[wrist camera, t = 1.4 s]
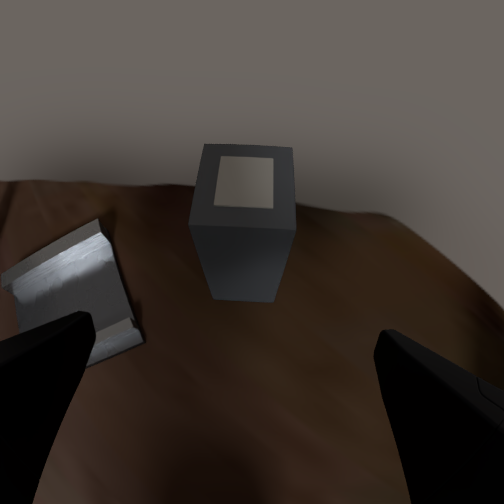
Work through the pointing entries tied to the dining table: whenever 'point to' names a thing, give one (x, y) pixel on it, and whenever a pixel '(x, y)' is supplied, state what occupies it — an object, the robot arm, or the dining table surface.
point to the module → (244, 219)
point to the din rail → (76, 289)
